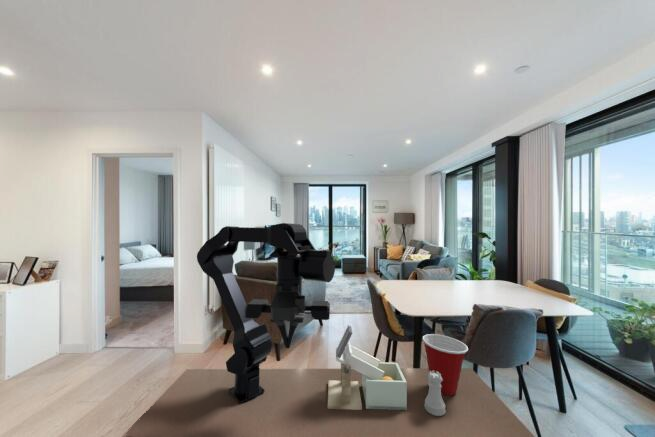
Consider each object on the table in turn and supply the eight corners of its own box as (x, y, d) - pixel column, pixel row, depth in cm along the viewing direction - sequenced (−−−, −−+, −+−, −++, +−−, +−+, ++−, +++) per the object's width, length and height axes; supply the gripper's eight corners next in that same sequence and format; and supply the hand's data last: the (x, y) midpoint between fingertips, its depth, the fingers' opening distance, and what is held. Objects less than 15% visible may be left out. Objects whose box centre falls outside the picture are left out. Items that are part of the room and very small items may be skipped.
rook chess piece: (436, 419, 57) (436, 380, 57) (419, 407, 61) (419, 371, 61) (450, 413, 59) (450, 376, 59) (433, 402, 63) (433, 366, 63)
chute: (336, 360, 62) (349, 332, 62) (336, 349, 68) (348, 324, 68) (379, 382, 62) (392, 355, 62) (375, 369, 67) (387, 344, 68)
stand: (327, 409, 59) (328, 367, 60) (328, 383, 70) (329, 347, 70) (361, 410, 59) (362, 368, 60) (357, 384, 69) (358, 348, 70)
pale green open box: (366, 408, 60) (366, 380, 60) (361, 385, 69) (362, 361, 69) (406, 410, 60) (406, 382, 60) (397, 386, 69) (397, 362, 69)
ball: (400, 380, 64) (396, 397, 64) (386, 371, 67) (383, 387, 67) (391, 384, 62) (387, 401, 61) (377, 374, 65) (373, 391, 64)
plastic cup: (475, 405, 62) (474, 352, 62) (425, 398, 64) (425, 347, 64) (461, 380, 72) (461, 335, 73) (419, 375, 74) (419, 331, 75)
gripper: (236, 283, 54) (233, 363, 53) (329, 285, 53) (328, 366, 52) (253, 275, 65) (251, 341, 64) (330, 276, 64) (329, 343, 63)
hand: (287, 347), depth 61 cm, fingers closed
